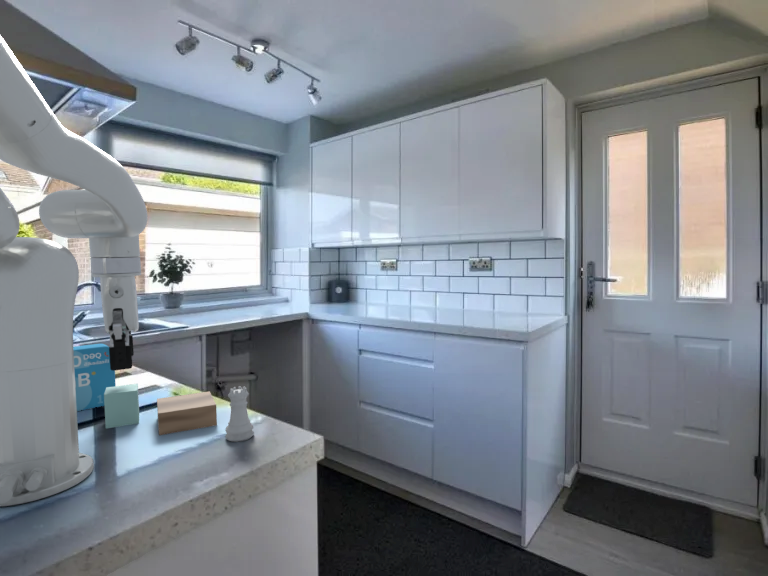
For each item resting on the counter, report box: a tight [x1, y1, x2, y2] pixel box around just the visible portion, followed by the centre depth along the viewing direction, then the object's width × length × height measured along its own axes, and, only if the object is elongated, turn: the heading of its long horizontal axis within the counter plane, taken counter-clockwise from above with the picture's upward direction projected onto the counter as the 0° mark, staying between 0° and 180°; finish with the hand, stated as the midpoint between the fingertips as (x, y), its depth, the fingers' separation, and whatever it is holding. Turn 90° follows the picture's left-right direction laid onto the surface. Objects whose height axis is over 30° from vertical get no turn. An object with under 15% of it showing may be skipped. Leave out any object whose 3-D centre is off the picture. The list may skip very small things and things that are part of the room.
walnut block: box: [156, 391, 218, 436], centre depth 79 cm, size 9×9×4 cm
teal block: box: [104, 383, 140, 429], centre depth 79 cm, size 5×5×6 cm
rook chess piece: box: [224, 385, 255, 443], centre depth 71 cm, size 4×4×8 cm
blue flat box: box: [73, 343, 117, 412], centre depth 87 cm, size 12×4×12 cm, turn 133°
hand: (122, 362), depth 80 cm, fingers open, 9 cm apart
